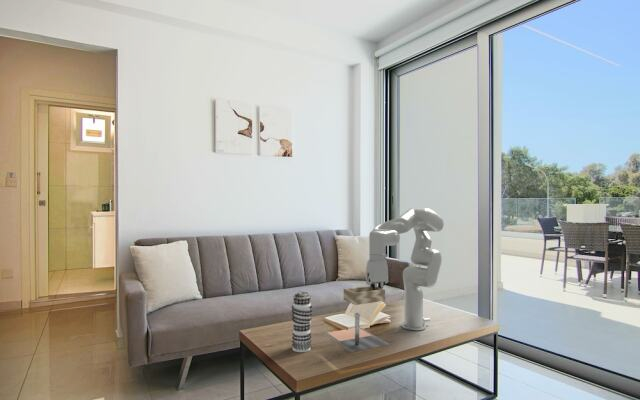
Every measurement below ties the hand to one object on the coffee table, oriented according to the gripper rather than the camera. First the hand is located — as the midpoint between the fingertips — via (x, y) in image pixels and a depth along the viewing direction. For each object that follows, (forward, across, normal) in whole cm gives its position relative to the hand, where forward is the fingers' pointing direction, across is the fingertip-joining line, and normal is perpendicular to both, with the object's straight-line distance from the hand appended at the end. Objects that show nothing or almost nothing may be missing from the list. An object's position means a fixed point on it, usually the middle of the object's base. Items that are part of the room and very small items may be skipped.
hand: (377, 296), depth 182 cm
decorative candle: (+22, +35, -9) cm, 42 cm away
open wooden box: (+1, +7, 0) cm, 7 cm away
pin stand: (+22, +8, -7) cm, 24 cm away
